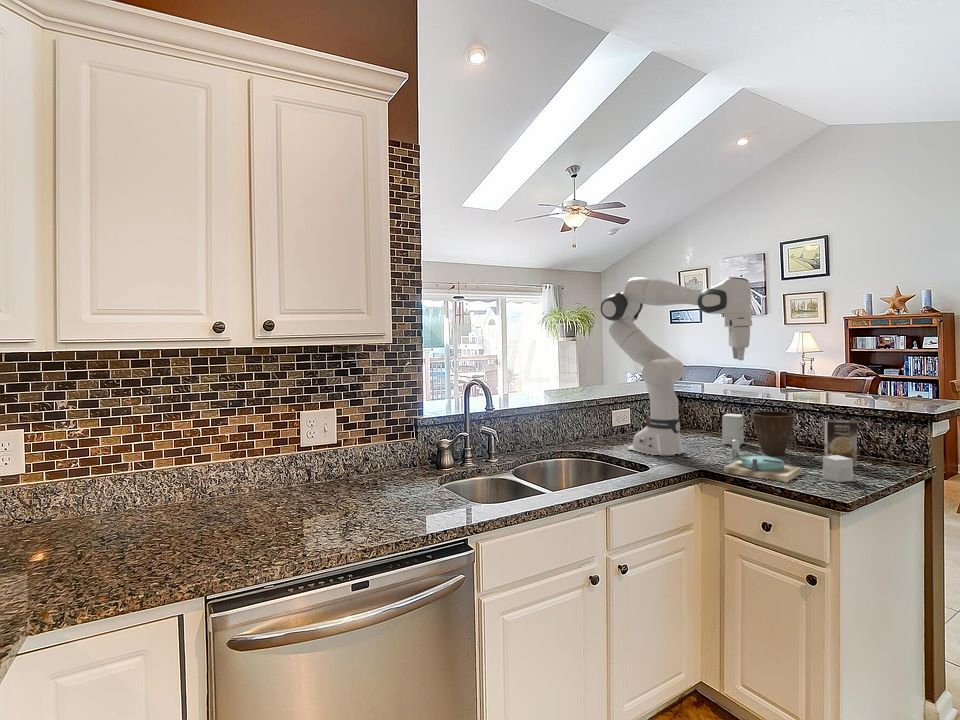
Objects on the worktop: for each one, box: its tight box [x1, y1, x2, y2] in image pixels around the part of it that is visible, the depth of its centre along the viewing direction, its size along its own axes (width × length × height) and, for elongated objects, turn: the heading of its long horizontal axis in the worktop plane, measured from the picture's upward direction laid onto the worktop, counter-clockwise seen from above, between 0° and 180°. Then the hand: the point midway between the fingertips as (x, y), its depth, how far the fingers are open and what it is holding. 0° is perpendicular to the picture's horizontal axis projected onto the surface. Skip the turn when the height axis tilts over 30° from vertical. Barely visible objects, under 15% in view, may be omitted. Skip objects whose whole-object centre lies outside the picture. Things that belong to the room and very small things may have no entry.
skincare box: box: [822, 455, 854, 483], centre depth 177 cm, size 6×6×7 cm
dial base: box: [723, 459, 802, 483], centre depth 188 cm, size 20×14×6 cm
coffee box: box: [823, 418, 858, 467], centre depth 194 cm, size 9×6×16 cm
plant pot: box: [751, 410, 795, 456], centre depth 215 cm, size 15×15×16 cm
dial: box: [731, 440, 785, 471], centre depth 189 cm, size 17×13×8 cm
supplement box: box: [721, 413, 745, 447], centre depth 235 cm, size 7×7×13 cm
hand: (738, 359), depth 197 cm, fingers open, 8 cm apart
